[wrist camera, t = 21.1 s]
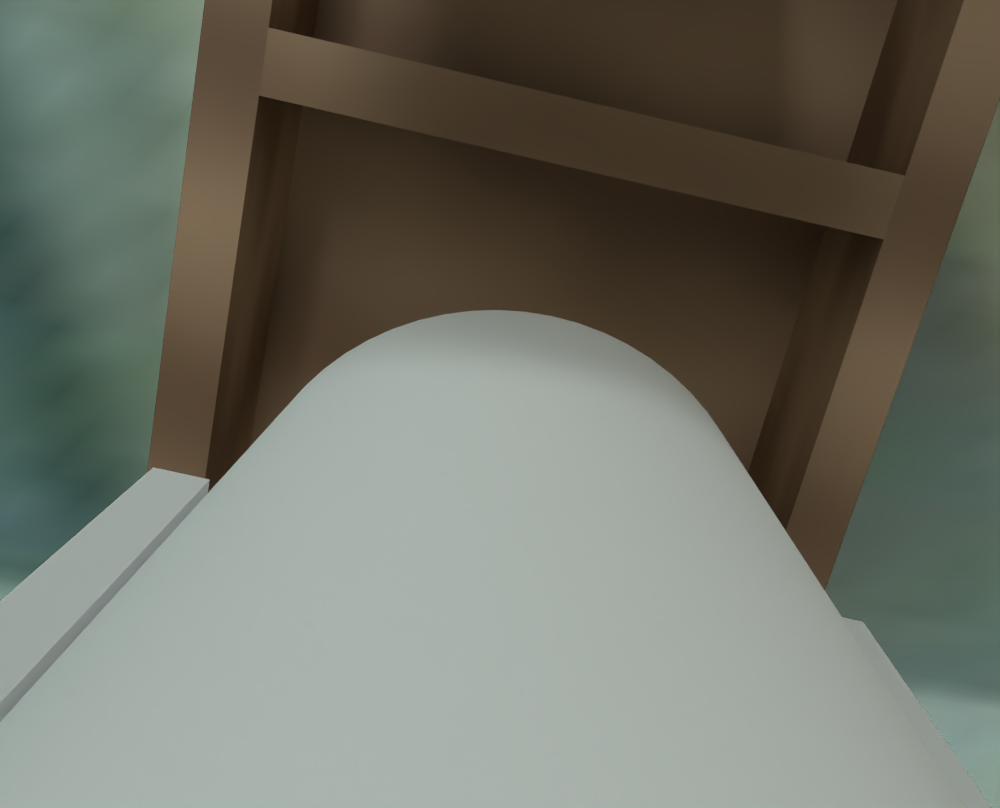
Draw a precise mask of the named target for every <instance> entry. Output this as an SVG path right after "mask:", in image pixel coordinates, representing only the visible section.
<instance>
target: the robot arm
mask: <svg viewBox="0 0 1000 808" xmlns="http://www.w3.org/2000/svg"><path fill="white" fill-rule="evenodd" d="M209 481H210V480H209V479H205V478H200V477H196V476H191V475H186V474H182V473H177V472H173V471H168V470H163V469H159V468H154V467H153V468H152V469H151V470H150V471H148V472H147V473H146V474H145V475H144V476H143V477H142V478H140V479H139V480H138V481H137V482H136V483H135V484H134V485H132V486H131V487H130V488H129V489H128V490H127V491H126V492H124V493H123V494H122V495H121V496H120V497H119V498H118V499H116V500H115V501H114V502H113V503H112V504H111V505H110V506H108V507H107V508H106V509H105V510H104V511H103V512H101V513H100V514H99V515H98V516H97V517H96V518H95V519H93V520H92V521H91V522H90V523H89V524H88V525H87V526H85V527H84V528H83V529H82V530H81V531H80V532H79V533H77V534H76V535H75V536H74V537H73V538H72V539H71V540H69V541H68V542H67V543H66V544H65V545H64V546H63V547H61V548H60V549H59V550H58V551H57V552H56V553H55V554H53V555H52V556H51V557H50V558H49V559H48V560H46V561H45V562H44V563H43V564H42V565H41V566H40V567H38V568H37V569H36V570H35V571H34V572H33V573H32V574H30V575H29V576H28V577H27V578H26V579H25V580H24V581H22V582H21V583H20V584H19V585H18V586H17V587H16V588H14V589H13V590H12V591H11V592H10V593H9V594H8V595H6V596H5V597H4V598H3V599H2V600H1V601H0V722H1V721H2V720H3V718H4V717H5V716H6V715H7V714H8V713H9V712H10V711H11V710H12V709H13V707H14V706H15V705H16V704H17V703H18V702H19V701H20V700H21V699H22V697H23V696H24V695H25V694H26V693H27V692H28V691H29V690H30V689H31V688H32V686H33V685H34V684H35V683H36V682H37V681H38V680H39V679H40V678H41V677H42V675H43V674H44V673H45V672H46V671H47V670H48V669H49V668H50V667H51V666H52V664H53V663H54V662H55V661H56V660H57V659H58V658H59V657H60V656H61V655H62V653H63V652H64V651H65V650H66V649H67V648H68V647H69V646H70V645H71V643H72V642H73V641H74V640H75V639H76V638H77V637H78V636H79V635H80V634H81V632H82V631H83V630H84V629H85V628H86V627H87V626H88V625H89V624H90V623H91V621H92V620H93V619H94V618H95V617H96V616H97V615H98V614H99V613H100V612H101V610H102V609H103V608H104V607H105V606H106V605H107V604H108V603H109V602H110V601H111V599H112V598H113V597H114V596H115V595H116V594H117V593H118V592H119V591H120V589H121V588H122V587H123V586H124V585H125V584H126V583H127V582H128V581H129V580H130V578H131V577H132V576H133V575H134V574H135V573H136V572H137V571H138V570H139V569H140V567H141V566H142V565H143V564H144V563H145V562H146V561H147V560H148V559H149V558H150V556H151V555H152V554H153V553H154V552H155V551H156V550H157V549H158V548H159V547H160V545H161V544H162V543H163V542H164V541H165V540H166V539H167V538H168V537H169V535H170V534H171V533H172V532H173V531H174V530H175V529H176V528H177V527H178V526H179V524H180V523H181V522H182V521H183V520H184V519H185V518H186V517H187V516H188V515H189V513H190V512H191V511H192V510H193V509H194V508H195V507H196V506H197V505H198V504H199V502H200V501H201V500H202V499H203V498H204V497H205V496H206V495H207V494H208V488H209ZM842 618H843V620H844V621H845V623H846V624H847V626H848V627H849V629H850V630H851V632H852V633H853V635H854V636H855V638H856V639H857V641H858V643H859V644H860V646H861V647H862V649H863V650H864V652H865V653H866V655H867V656H868V658H869V659H870V661H871V662H872V664H873V666H874V667H875V669H876V670H877V672H878V673H879V675H880V676H881V678H882V679H883V681H884V682H885V684H886V686H887V687H888V689H889V690H890V692H891V693H892V695H893V696H894V698H895V699H896V701H897V702H898V704H899V705H900V707H901V709H902V710H903V712H904V713H905V715H906V716H907V718H908V719H909V721H910V722H911V724H912V725H913V727H914V728H915V730H916V732H917V733H918V735H919V736H920V738H921V739H922V741H923V742H924V744H925V745H926V747H927V748H928V750H929V751H930V753H931V755H932V756H933V758H934V759H935V761H936V762H937V764H938V765H939V767H940V768H941V770H942V771H943V773H944V774H945V776H946V778H947V779H948V781H949V782H950V784H951V785H952V787H953V788H954V790H955V791H956V793H957V794H958V796H959V798H960V799H961V801H962V802H963V804H964V805H965V807H966V808H991V806H990V805H989V804H988V802H987V801H986V799H985V798H984V796H983V795H982V793H981V792H980V790H979V789H978V788H977V786H976V785H975V783H974V782H973V780H972V779H971V777H970V776H969V775H968V773H967V772H966V770H965V769H964V767H963V766H962V764H961V763H960V761H959V760H958V759H957V757H956V756H955V754H954V753H953V751H952V750H951V748H950V747H949V746H948V744H947V743H946V741H945V740H944V738H943V737H942V735H941V734H940V732H939V731H938V730H937V728H936V727H935V725H934V724H933V722H932V721H931V719H930V718H929V716H928V715H927V714H926V712H925V711H924V709H923V708H922V706H921V705H920V703H919V702H918V701H917V699H916V698H915V696H914V695H913V693H912V692H911V690H910V689H909V687H908V686H907V685H906V683H905V682H904V680H903V679H902V677H901V676H900V674H899V673H898V672H897V670H896V669H895V667H894V666H893V664H892V663H891V661H890V660H889V658H888V657H887V656H886V654H885V653H884V651H883V650H882V648H881V647H880V645H879V644H878V643H877V641H876V640H875V638H874V637H873V635H872V634H871V632H870V631H869V629H868V628H867V627H866V625H865V624H864V622H862V621H858V620H853V619H849V618H844V617H842Z"/></svg>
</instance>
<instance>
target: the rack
mask: <svg viewBox="0 0 1000 808" xmlns="http://www.w3.org/2000/svg"><path fill="white" fill-rule="evenodd" d="M999 100H1000V0H205V3H204V11H203V19H202V28H201V36H200V44H199V52H198V60H197V69H196V77H195V85H194V93H193V102H192V110H191V118H190V126H189V134H188V143H187V151H186V159H185V167H184V175H183V184H182V192H181V200H180V208H179V217H178V225H177V233H176V241H175V249H174V258H173V266H172V274H171V282H170V290H169V299H168V307H167V315H166V323H165V332H164V340H163V348H162V356H161V364H160V373H159V381H158V389H157V397H156V405H155V414H154V422H153V430H152V438H151V447H150V455H149V463H148V471H150V470H151V469H152V468H153V467H154V468H159V469H163V470H168V471H173V472H177V473H182V474H186V475H191V476H196V477H200V478H205V479H209V480H210V481H209V488H208V493H209V491H210V490H211V489H212V488H213V487H214V486H215V485H216V484H217V483H218V481H219V480H220V479H221V478H222V477H223V476H224V475H225V474H226V473H227V472H228V470H229V469H230V468H231V467H232V466H233V465H234V464H235V463H236V462H237V461H238V459H239V458H240V457H241V456H242V455H243V454H244V453H245V452H246V451H247V450H248V448H249V447H250V446H251V445H252V444H253V443H254V442H255V441H256V440H257V439H258V437H259V436H260V435H261V434H262V433H263V432H264V431H265V430H266V429H267V428H268V426H269V425H270V424H271V423H272V422H273V421H274V420H275V419H276V418H277V416H278V415H279V414H280V413H281V412H282V411H283V410H284V409H285V408H286V407H287V405H288V404H289V403H290V402H291V401H292V400H293V399H294V398H295V397H296V396H297V394H298V393H299V392H300V391H301V390H302V389H303V388H304V387H305V386H306V385H307V384H308V383H309V382H310V381H311V380H312V379H313V378H314V377H316V376H317V375H318V374H319V373H320V372H321V371H322V370H323V369H324V368H326V367H327V366H329V365H330V364H331V363H333V362H334V361H335V360H337V359H338V358H340V357H341V356H342V355H344V354H345V353H347V352H348V351H350V350H352V349H354V348H355V347H357V346H359V345H360V344H362V343H364V342H366V341H367V340H369V339H372V338H374V337H376V336H378V335H380V334H383V333H385V332H387V331H389V330H391V329H394V328H397V327H400V326H403V325H406V324H409V323H412V322H415V321H418V320H422V319H426V318H430V317H435V316H439V315H443V314H450V313H458V312H466V311H480V310H507V311H522V312H530V313H536V314H542V315H548V316H554V317H557V318H561V319H565V320H569V321H572V322H576V323H580V324H582V325H585V326H588V327H590V328H593V329H596V330H598V331H601V332H604V333H606V334H608V335H610V336H612V337H614V338H616V339H618V340H620V341H622V342H624V343H626V344H628V345H630V346H631V347H633V348H635V349H636V350H638V351H639V352H641V353H643V354H644V355H646V356H647V357H649V358H651V359H652V360H653V361H655V362H656V363H657V364H658V365H660V366H661V367H662V368H664V369H665V370H666V371H668V372H669V373H670V374H671V375H673V376H674V377H675V378H676V379H677V380H678V381H679V382H680V383H681V384H682V385H683V386H684V387H685V388H686V389H687V390H688V391H690V392H691V394H692V395H693V396H694V397H695V398H696V399H697V401H698V402H699V403H700V404H701V405H702V406H703V408H704V409H705V410H706V411H707V412H708V414H709V415H710V416H711V418H712V419H713V421H714V422H715V424H716V425H717V427H718V428H719V430H720V431H721V432H722V434H723V435H724V437H725V439H726V440H727V442H728V443H729V445H730V446H731V448H732V449H733V451H734V452H735V454H736V455H737V457H738V458H739V460H740V462H741V463H742V465H743V466H744V468H745V469H746V471H747V472H748V474H749V475H750V477H751V478H752V480H753V481H754V483H755V485H756V486H757V488H758V489H759V491H760V492H761V494H762V495H763V497H764V498H765V500H766V501H767V503H768V504H769V506H770V508H771V509H772V511H773V512H774V514H775V515H776V517H777V518H778V520H779V521H780V523H781V524H782V526H783V527H784V529H785V531H786V532H787V534H788V535H789V537H790V538H791V540H792V541H793V543H794V544H795V546H796V547H797V549H798V550H799V552H800V554H801V555H802V557H803V558H804V560H805V561H806V563H807V564H808V566H809V567H810V569H811V570H812V572H813V574H814V575H815V577H816V578H817V580H818V581H819V583H820V584H821V586H822V587H823V589H824V590H825V588H826V586H827V583H828V580H829V577H830V574H831V572H832V569H833V566H834V563H835V560H836V558H837V555H838V552H839V549H840V546H841V544H842V541H843V538H844V535H845V532H846V529H847V527H848V524H849V521H850V518H851V515H852V513H853V510H854V507H855V504H856V501H857V499H858V496H859V493H860V490H861V487H862V485H863V482H864V479H865V476H866V473H867V471H868V468H869V465H870V462H871V459H872V456H873V454H874V451H875V448H876V445H877V442H878V440H879V437H880V434H881V431H882V428H883V426H884V423H885V420H886V417H887V414H888V412H889V409H890V406H891V403H892V400H893V397H894V395H895V392H896V389H897V386H898V383H899V381H900V378H901V375H902V372H903V369H904V367H905V364H906V361H907V358H908V355H909V353H910V350H911V347H912V344H913V341H914V338H915V336H916V333H917V330H918V327H919V324H920V322H921V319H922V316H923V313H924V310H925V308H926V305H927V302H928V299H929V296H930V294H931V291H932V288H933V285H934V282H935V279H936V277H937V274H938V271H939V268H940V265H941V263H942V260H943V257H944V254H945V251H946V249H947V246H948V243H949V240H950V237H951V235H952V232H953V229H954V226H955V223H956V220H957V218H958V215H959V212H960V209H961V206H962V204H963V201H964V198H965V195H966V192H967V190H968V187H969V184H970V181H971V178H972V176H973V173H974V170H975V167H976V164H977V161H978V159H979V156H980V153H981V150H982V147H983V145H984V142H985V139H986V136H987V133H988V131H989V128H990V125H991V122H992V119H993V117H994V114H995V111H996V108H997V105H998V102H999ZM148 471H147V472H148Z"/></svg>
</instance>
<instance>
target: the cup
mask: <svg viewBox="0 0 1000 808" xmlns="http://www.w3.org/2000/svg"><path fill="white" fill-rule="evenodd" d="M0 808H966V807H965V805H964V804H963V802H962V801H961V799H960V798H959V796H958V794H957V793H956V791H955V790H954V788H953V787H952V785H951V784H950V782H949V781H948V779H947V778H946V776H945V774H944V773H943V771H942V770H941V768H940V767H939V765H938V764H937V762H936V761H935V759H934V758H933V756H932V755H931V753H930V751H929V750H928V748H927V747H926V745H925V744H924V742H923V741H922V739H921V738H920V736H919V735H918V733H917V732H916V730H915V728H914V727H913V725H912V724H911V722H910V721H909V719H908V718H907V716H906V715H905V713H904V712H903V710H902V709H901V707H900V705H899V704H898V702H897V701H896V699H895V698H894V696H893V695H892V693H891V692H890V690H889V689H888V687H887V686H886V684H885V682H884V681H883V679H882V678H881V676H880V675H879V673H878V672H877V670H876V669H875V667H874V666H873V664H872V662H871V661H870V659H869V658H868V656H867V655H866V653H865V652H864V650H863V649H862V647H861V646H860V644H859V643H858V641H857V639H856V638H855V636H854V635H853V633H852V632H851V630H850V629H849V627H848V626H847V624H846V623H845V621H844V620H843V618H842V616H841V615H840V613H839V612H838V610H837V609H836V607H835V606H834V604H833V603H832V601H831V600H830V598H829V597H828V595H827V593H826V592H825V590H824V589H823V587H822V586H821V584H820V583H819V581H818V580H817V578H816V577H815V575H814V574H813V572H812V570H811V569H810V567H809V566H808V564H807V563H806V561H805V560H804V558H803V557H802V555H801V554H800V552H799V550H798V549H797V547H796V546H795V544H794V543H793V541H792V540H791V538H790V537H789V535H788V534H787V532H786V531H785V529H784V527H783V526H782V524H781V523H780V521H779V520H778V518H777V517H776V515H775V514H774V512H773V511H772V509H771V508H770V506H769V504H768V503H767V501H766V500H765V498H764V497H763V495H762V494H761V492H760V491H759V489H758V488H757V486H756V485H755V483H754V481H753V480H752V478H751V477H750V475H749V474H748V472H747V471H746V469H745V468H744V466H743V465H742V463H741V462H740V460H739V458H738V457H737V455H736V454H735V452H734V451H733V449H732V448H731V446H730V445H729V443H728V442H727V440H726V439H725V437H724V435H723V434H722V432H721V431H720V430H719V428H718V427H717V425H716V424H715V422H714V421H713V419H712V418H711V416H710V415H709V414H708V412H707V411H706V410H705V409H704V408H703V406H702V405H701V404H700V403H699V402H698V401H697V399H696V398H695V397H694V396H693V395H692V394H691V392H690V391H688V390H687V389H686V388H685V387H684V386H683V385H682V384H681V383H680V382H679V381H678V380H677V379H676V378H675V377H674V376H673V375H671V374H670V373H669V372H668V371H666V370H665V369H664V368H662V367H661V366H660V365H658V364H657V363H656V362H655V361H653V360H652V359H651V358H649V357H647V356H646V355H644V354H643V353H641V352H639V351H638V350H636V349H635V348H633V347H631V346H630V345H628V344H626V343H624V342H622V341H620V340H618V339H616V338H614V337H612V336H610V335H608V334H606V333H604V332H601V331H598V330H596V329H593V328H590V327H588V326H585V325H582V324H580V323H576V322H572V321H569V320H565V319H561V318H557V317H554V316H548V315H542V314H536V313H530V312H522V311H507V310H480V311H466V312H458V313H450V314H443V315H439V316H435V317H430V318H426V319H422V320H418V321H415V322H412V323H409V324H406V325H403V326H400V327H397V328H394V329H391V330H389V331H387V332H385V333H383V334H380V335H378V336H376V337H374V338H372V339H369V340H367V341H366V342H364V343H362V344H360V345H359V346H357V347H355V348H354V349H352V350H350V351H348V352H347V353H345V354H344V355H342V356H341V357H340V358H338V359H337V360H335V361H334V362H333V363H331V364H330V365H329V366H327V367H326V368H324V369H323V370H322V371H321V372H320V373H319V374H318V375H317V376H316V377H314V378H313V379H312V380H311V381H310V382H309V383H308V384H307V385H306V386H305V387H304V388H303V389H302V390H301V391H300V392H299V393H298V394H297V396H296V397H295V398H294V399H293V400H292V401H291V402H290V403H289V404H288V405H287V407H286V408H285V409H284V410H283V411H282V412H281V413H280V414H279V415H278V416H277V418H276V419H275V420H274V421H273V422H272V423H271V424H270V425H269V426H268V428H267V429H266V430H265V431H264V432H263V433H262V434H261V435H260V436H259V437H258V439H257V440H256V441H255V442H254V443H253V444H252V445H251V446H250V447H249V448H248V450H247V451H246V452H245V453H244V454H243V455H242V456H241V457H240V458H239V459H238V461H237V462H236V463H235V464H234V465H233V466H232V467H231V468H230V469H229V470H228V472H227V473H226V474H225V475H224V476H223V477H222V478H221V479H220V480H219V481H218V483H217V484H216V485H215V486H214V487H213V488H212V489H211V490H210V491H209V493H208V494H207V495H206V496H205V497H204V498H203V499H202V500H201V501H200V502H199V504H198V505H197V506H196V507H195V508H194V509H193V510H192V511H191V512H190V513H189V515H188V516H187V517H186V518H185V519H184V520H183V521H182V522H181V523H180V524H179V526H178V527H177V528H176V529H175V530H174V531H173V532H172V533H171V534H170V535H169V537H168V538H167V539H166V540H165V541H164V542H163V543H162V544H161V545H160V547H159V548H158V549H157V550H156V551H155V552H154V553H153V554H152V555H151V556H150V558H149V559H148V560H147V561H146V562H145V563H144V564H143V565H142V566H141V567H140V569H139V570H138V571H137V572H136V573H135V574H134V575H133V576H132V577H131V578H130V580H129V581H128V582H127V583H126V584H125V585H124V586H123V587H122V588H121V589H120V591H119V592H118V593H117V594H116V595H115V596H114V597H113V598H112V599H111V601H110V602H109V603H108V604H107V605H106V606H105V607H104V608H103V609H102V610H101V612H100V613H99V614H98V615H97V616H96V617H95V618H94V619H93V620H92V621H91V623H90V624H89V625H88V626H87V627H86V628H85V629H84V630H83V631H82V632H81V634H80V635H79V636H78V637H77V638H76V639H75V640H74V641H73V642H72V643H71V645H70V646H69V647H68V648H67V649H66V650H65V651H64V652H63V653H62V655H61V656H60V657H59V658H58V659H57V660H56V661H55V662H54V663H53V664H52V666H51V667H50V668H49V669H48V670H47V671H46V672H45V673H44V674H43V675H42V677H41V678H40V679H39V680H38V681H37V682H36V683H35V684H34V685H33V686H32V688H31V689H30V690H29V691H28V692H27V693H26V694H25V695H24V696H23V697H22V699H21V700H20V701H19V702H18V703H17V704H16V705H15V706H14V707H13V709H12V710H11V711H10V712H9V713H8V714H7V715H6V716H5V717H4V718H3V720H2V721H1V722H0Z"/></svg>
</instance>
